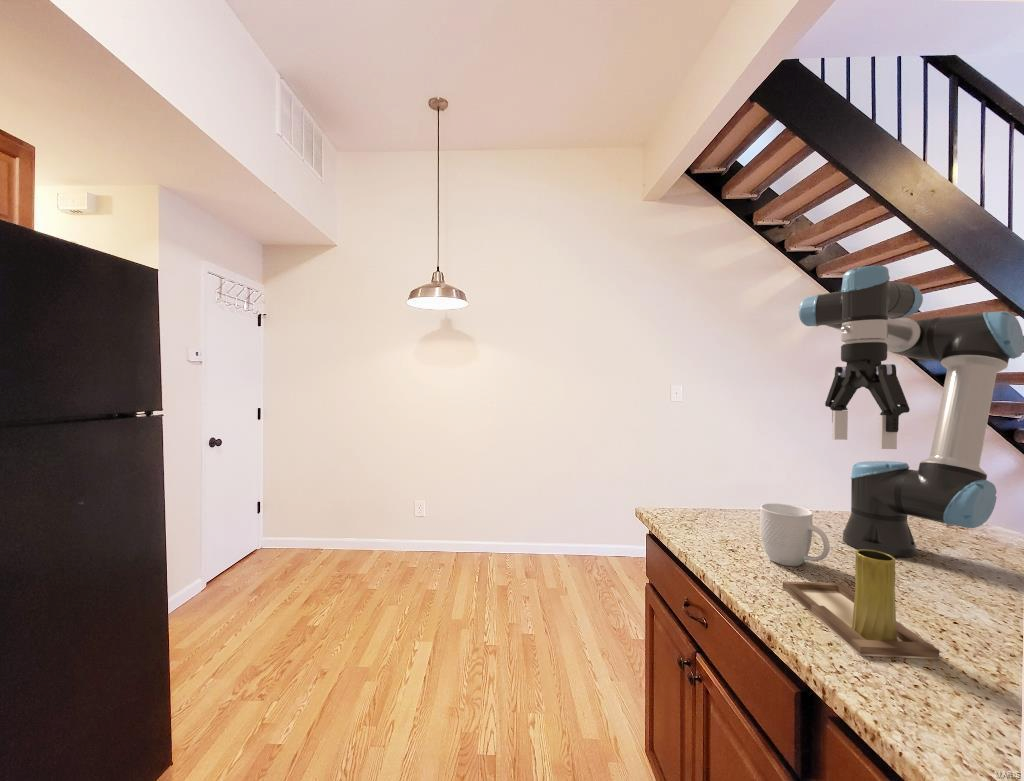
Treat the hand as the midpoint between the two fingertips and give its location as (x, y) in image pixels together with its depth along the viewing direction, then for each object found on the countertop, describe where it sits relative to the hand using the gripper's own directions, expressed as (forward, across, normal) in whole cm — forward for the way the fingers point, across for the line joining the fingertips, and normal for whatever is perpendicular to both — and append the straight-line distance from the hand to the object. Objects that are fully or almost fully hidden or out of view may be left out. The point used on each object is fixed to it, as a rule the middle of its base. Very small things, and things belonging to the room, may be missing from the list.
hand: (861, 443), depth 90 cm
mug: (+32, -15, -6) cm, 36 cm away
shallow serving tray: (+32, +10, -9) cm, 35 cm away
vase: (+32, +16, -9) cm, 37 cm away
